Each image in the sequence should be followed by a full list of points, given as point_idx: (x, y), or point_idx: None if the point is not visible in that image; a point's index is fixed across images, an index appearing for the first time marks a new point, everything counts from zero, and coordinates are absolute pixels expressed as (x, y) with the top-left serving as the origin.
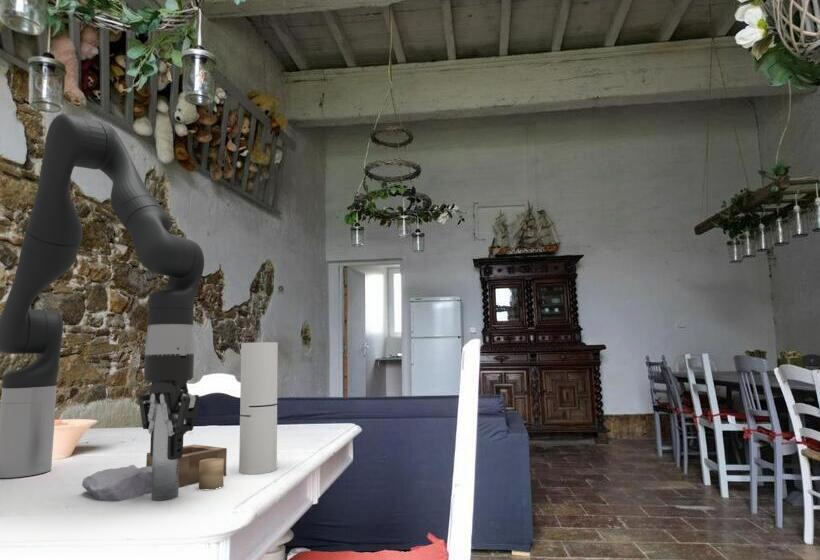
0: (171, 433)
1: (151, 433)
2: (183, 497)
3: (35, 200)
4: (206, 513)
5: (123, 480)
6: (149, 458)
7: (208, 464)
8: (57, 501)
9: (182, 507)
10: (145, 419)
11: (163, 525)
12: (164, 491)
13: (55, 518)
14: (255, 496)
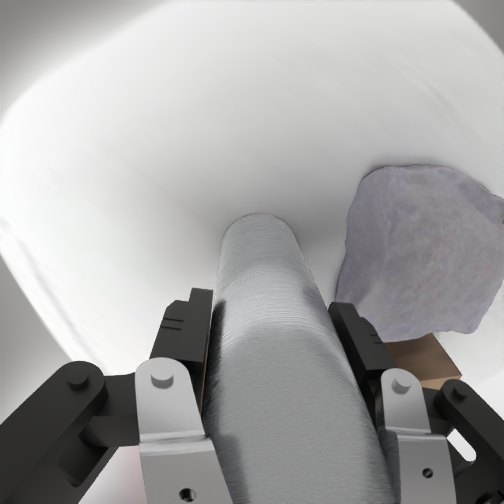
0: (154, 368)
1: (385, 372)
2: (205, 268)
3: None
4: (33, 188)
5: (390, 206)
6: (447, 367)
7: (203, 386)
8: (491, 136)
9: (118, 196)
10: (469, 420)
11: (44, 82)
12: (229, 234)
13: (371, 10)
14: (62, 324)
